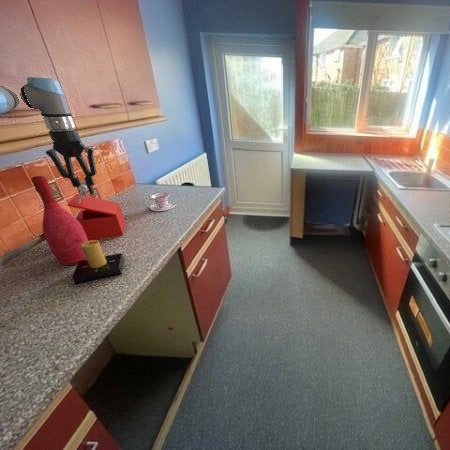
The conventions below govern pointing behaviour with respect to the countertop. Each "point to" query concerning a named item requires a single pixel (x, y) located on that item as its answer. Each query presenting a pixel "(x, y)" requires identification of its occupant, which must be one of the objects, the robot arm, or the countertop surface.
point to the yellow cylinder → (93, 253)
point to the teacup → (161, 202)
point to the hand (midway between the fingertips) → (87, 193)
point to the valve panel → (98, 269)
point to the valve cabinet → (101, 224)
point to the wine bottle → (60, 227)
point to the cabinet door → (92, 202)
